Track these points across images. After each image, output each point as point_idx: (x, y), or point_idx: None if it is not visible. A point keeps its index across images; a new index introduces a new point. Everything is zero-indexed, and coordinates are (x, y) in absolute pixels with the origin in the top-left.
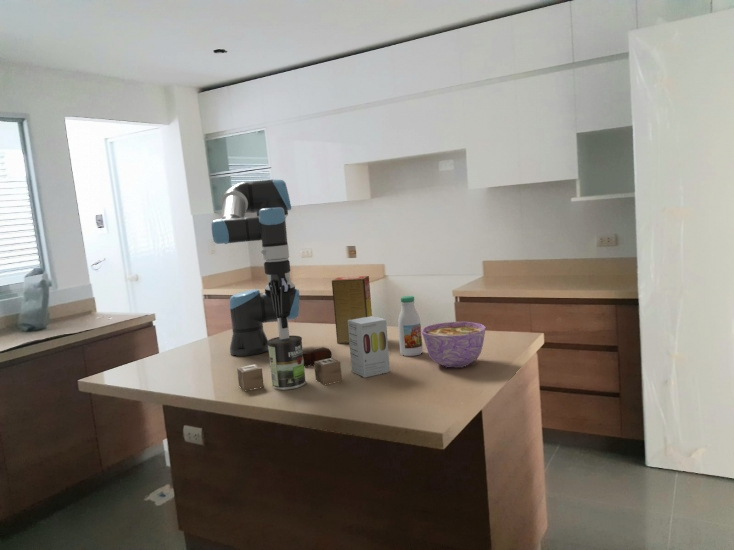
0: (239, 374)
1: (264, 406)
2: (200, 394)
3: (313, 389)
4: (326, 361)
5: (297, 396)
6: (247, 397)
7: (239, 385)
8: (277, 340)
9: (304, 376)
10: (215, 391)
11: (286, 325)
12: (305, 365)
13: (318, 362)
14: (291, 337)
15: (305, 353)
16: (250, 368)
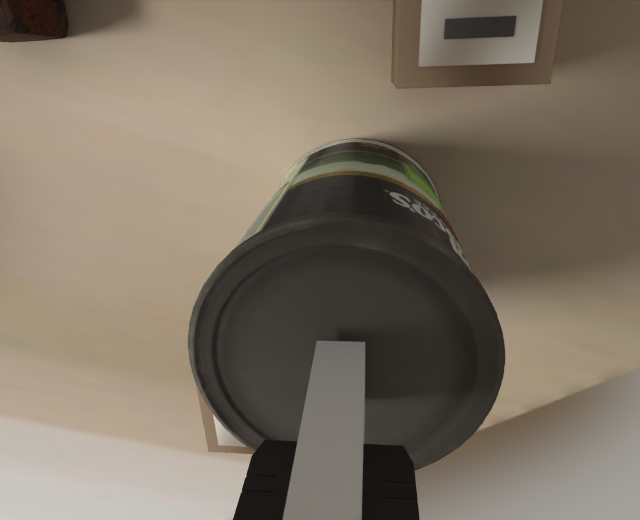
0: None
1: (560, 392)
2: (239, 495)
3: (531, 155)
4: (488, 9)
5: (562, 255)
6: None
7: None
8: None
9: (408, 164)
10: (237, 457)
11: (413, 481)
12: (65, 23)
13: (442, 69)
14: (288, 290)
15: (6, 6)
16: None
